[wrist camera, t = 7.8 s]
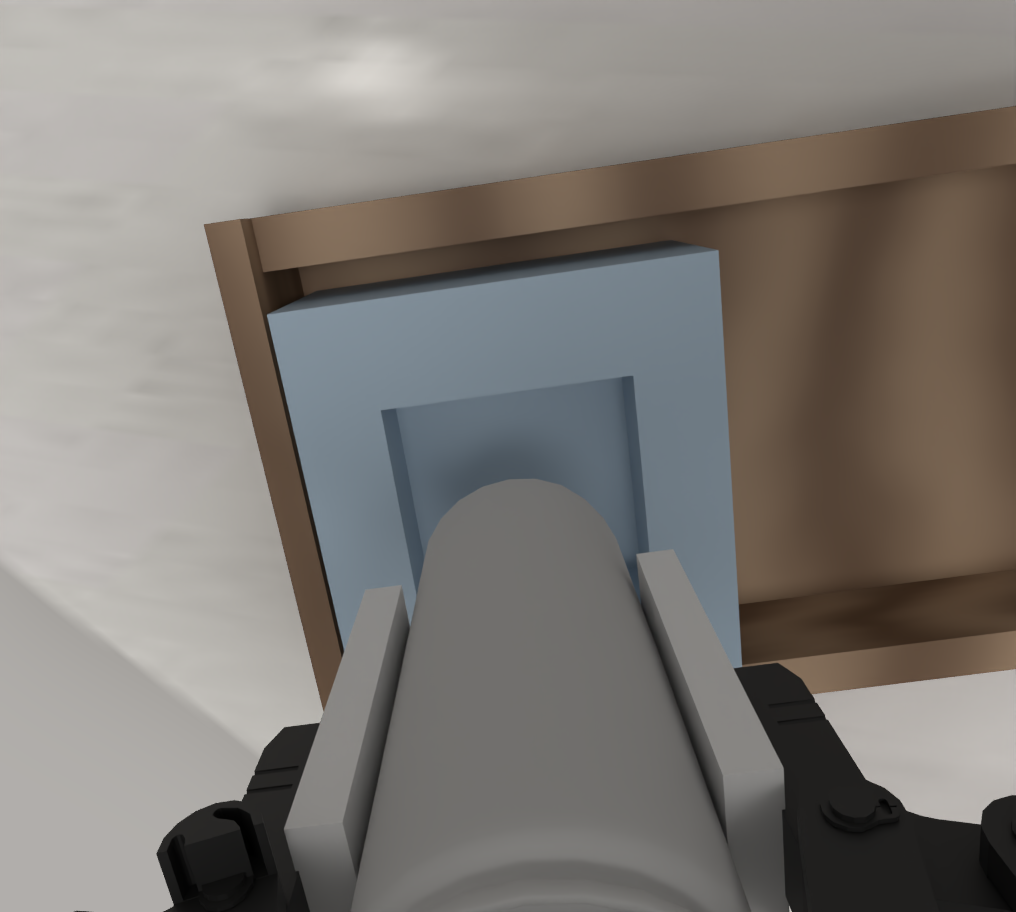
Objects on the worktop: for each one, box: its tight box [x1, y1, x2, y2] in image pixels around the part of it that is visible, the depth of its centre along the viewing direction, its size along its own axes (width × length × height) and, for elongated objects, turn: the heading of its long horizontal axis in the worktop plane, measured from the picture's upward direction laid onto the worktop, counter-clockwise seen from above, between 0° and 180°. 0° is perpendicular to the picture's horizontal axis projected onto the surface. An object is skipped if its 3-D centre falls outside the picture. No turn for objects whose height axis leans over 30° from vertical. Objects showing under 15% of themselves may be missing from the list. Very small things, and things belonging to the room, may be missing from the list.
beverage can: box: [350, 479, 751, 912], centre depth 14 cm, size 5×5×12 cm
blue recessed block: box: [267, 240, 742, 668], centre depth 26 cm, size 12×13×6 cm
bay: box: [204, 106, 1016, 711], centre depth 27 cm, size 26×18×6 cm
